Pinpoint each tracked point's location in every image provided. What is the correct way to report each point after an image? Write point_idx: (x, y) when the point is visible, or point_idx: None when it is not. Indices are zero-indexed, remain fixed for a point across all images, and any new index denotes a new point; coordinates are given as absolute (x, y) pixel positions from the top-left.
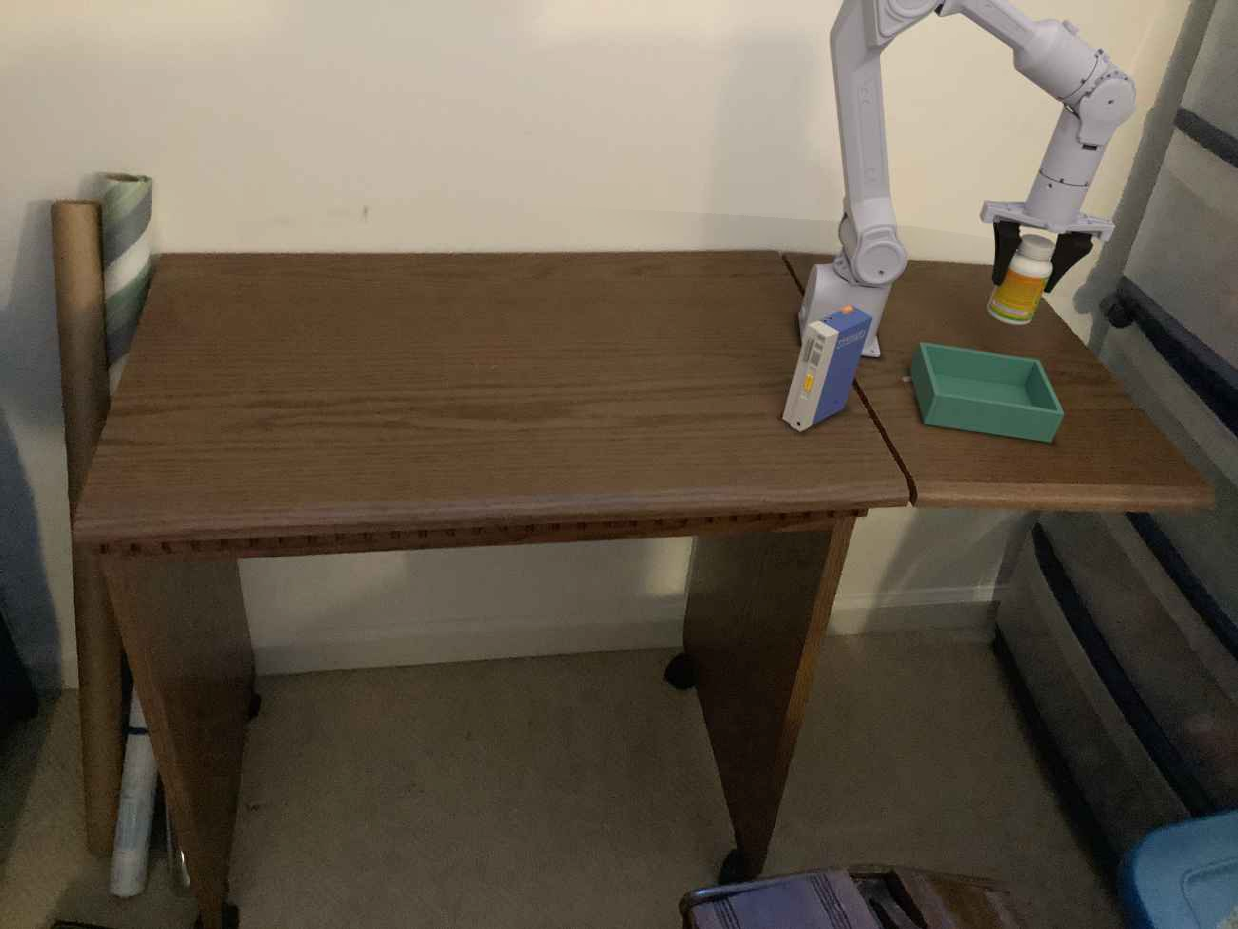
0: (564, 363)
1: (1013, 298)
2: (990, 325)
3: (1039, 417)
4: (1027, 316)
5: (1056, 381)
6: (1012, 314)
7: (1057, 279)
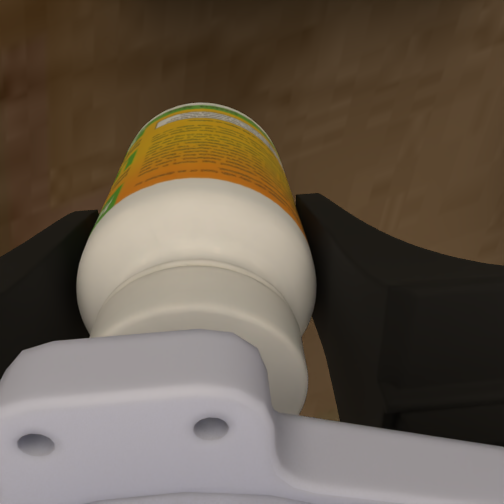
0: None
1: (236, 138)
2: None
3: None
4: (151, 124)
5: (19, 32)
6: (215, 111)
7: (44, 236)
